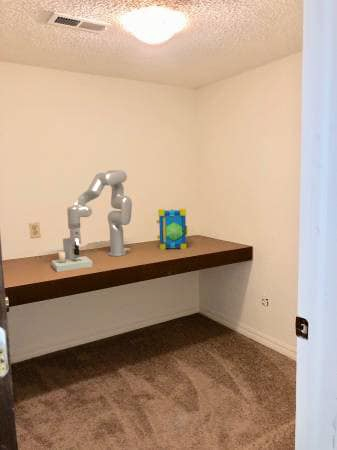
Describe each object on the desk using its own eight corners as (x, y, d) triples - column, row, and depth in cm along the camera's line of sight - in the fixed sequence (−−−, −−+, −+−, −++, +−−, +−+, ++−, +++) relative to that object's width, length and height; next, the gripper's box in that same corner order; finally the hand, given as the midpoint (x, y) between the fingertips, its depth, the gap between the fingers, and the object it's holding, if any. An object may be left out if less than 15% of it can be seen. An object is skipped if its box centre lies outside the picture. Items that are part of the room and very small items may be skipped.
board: (85, 261, 246) (85, 246, 245) (92, 266, 232) (91, 251, 231) (52, 265, 236) (51, 250, 235) (57, 271, 222) (55, 255, 221)
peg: (78, 256, 237) (77, 241, 236) (79, 257, 234) (79, 242, 232) (72, 257, 235) (71, 241, 234) (73, 258, 232) (72, 243, 230)
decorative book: (187, 250, 272) (187, 210, 268) (157, 250, 273) (155, 210, 268) (187, 245, 286) (186, 207, 282) (157, 246, 287) (156, 208, 282)
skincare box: (69, 260, 248) (68, 239, 246) (63, 259, 252) (62, 238, 249) (78, 258, 255) (77, 237, 253) (72, 257, 259) (71, 236, 256)
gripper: (83, 227, 226) (85, 256, 228) (77, 223, 240) (78, 251, 243) (71, 228, 222) (73, 257, 225) (65, 224, 237) (67, 252, 240)
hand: (75, 253), depth 234 cm, fingers closed on peg, 4 cm apart
